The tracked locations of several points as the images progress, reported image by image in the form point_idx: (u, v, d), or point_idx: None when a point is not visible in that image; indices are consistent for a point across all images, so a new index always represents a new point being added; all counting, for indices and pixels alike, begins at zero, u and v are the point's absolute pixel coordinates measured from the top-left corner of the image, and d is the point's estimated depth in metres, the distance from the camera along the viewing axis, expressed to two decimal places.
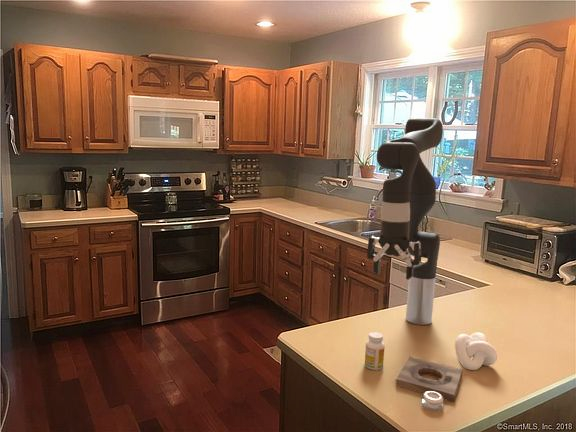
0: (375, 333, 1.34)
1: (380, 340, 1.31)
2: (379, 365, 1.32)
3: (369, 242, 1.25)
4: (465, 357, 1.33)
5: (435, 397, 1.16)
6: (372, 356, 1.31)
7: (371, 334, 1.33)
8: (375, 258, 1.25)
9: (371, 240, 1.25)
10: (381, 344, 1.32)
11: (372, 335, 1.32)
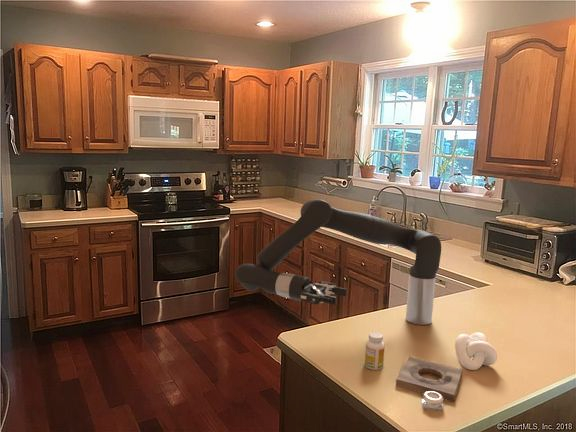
0: (375, 333, 1.34)
1: (380, 340, 1.31)
2: (379, 365, 1.32)
3: None
4: (465, 357, 1.33)
5: (435, 397, 1.16)
6: (372, 356, 1.31)
7: (371, 334, 1.33)
8: None
9: None
10: (381, 344, 1.32)
11: (372, 335, 1.32)
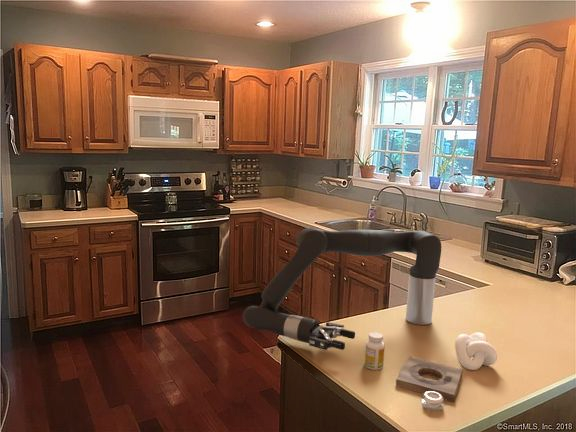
0: (375, 333, 1.34)
1: (380, 340, 1.31)
2: (379, 365, 1.32)
3: None
4: (465, 357, 1.33)
5: (435, 397, 1.16)
6: (372, 356, 1.31)
7: (371, 334, 1.33)
8: None
9: None
10: (381, 344, 1.32)
11: (372, 335, 1.32)
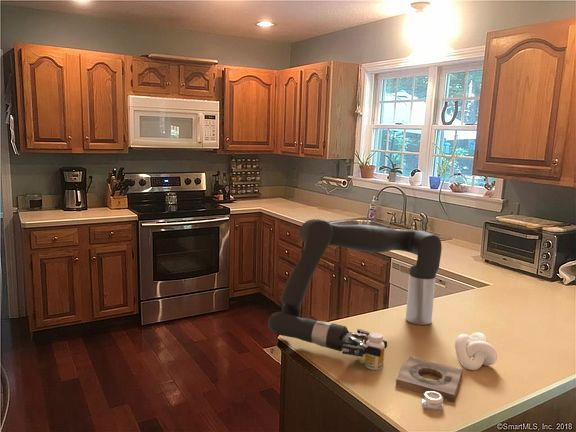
0: (375, 333, 1.34)
1: (380, 340, 1.31)
2: (379, 365, 1.32)
3: None
4: (465, 357, 1.33)
5: (435, 397, 1.16)
6: (372, 356, 1.31)
7: (371, 334, 1.33)
8: None
9: None
10: (381, 344, 1.32)
11: (372, 335, 1.32)
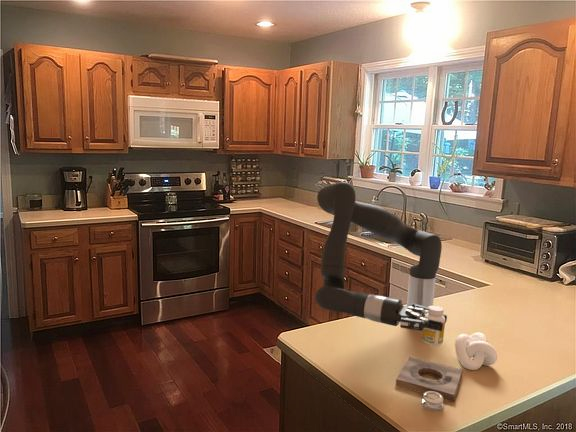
0: (434, 306, 1.24)
1: (441, 313, 1.22)
2: (439, 340, 1.22)
3: None
4: (465, 357, 1.33)
5: (435, 397, 1.16)
6: (432, 330, 1.22)
7: (431, 307, 1.24)
8: None
9: None
10: (442, 318, 1.22)
11: (432, 308, 1.23)
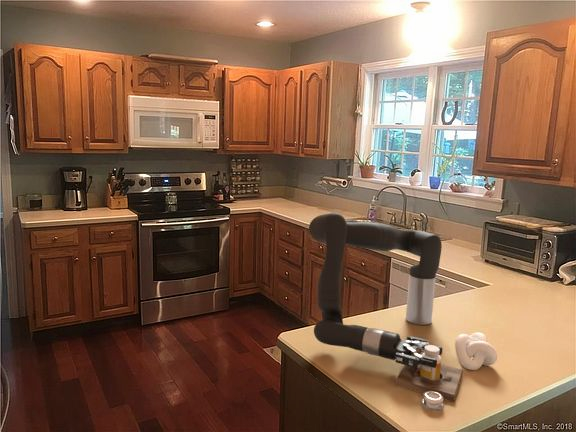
0: (431, 346, 1.26)
1: (437, 354, 1.24)
2: None
3: None
4: (465, 357, 1.33)
5: (435, 397, 1.16)
6: (429, 370, 1.24)
7: (427, 347, 1.26)
8: None
9: None
10: (438, 358, 1.24)
11: (428, 348, 1.25)
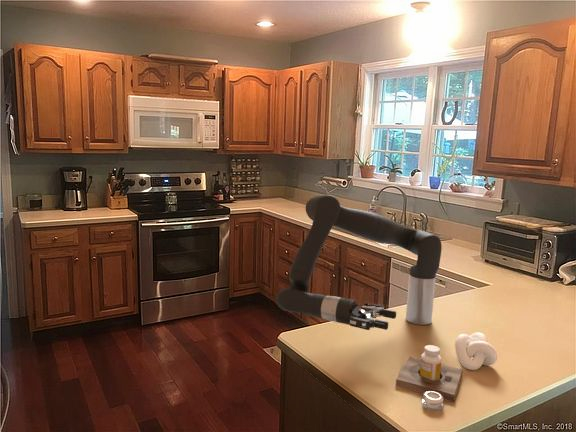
0: (431, 346, 1.26)
1: (437, 354, 1.24)
2: None
3: None
4: (465, 357, 1.33)
5: (435, 397, 1.16)
6: (429, 370, 1.24)
7: (427, 347, 1.26)
8: None
9: None
10: (438, 358, 1.24)
11: (428, 348, 1.25)
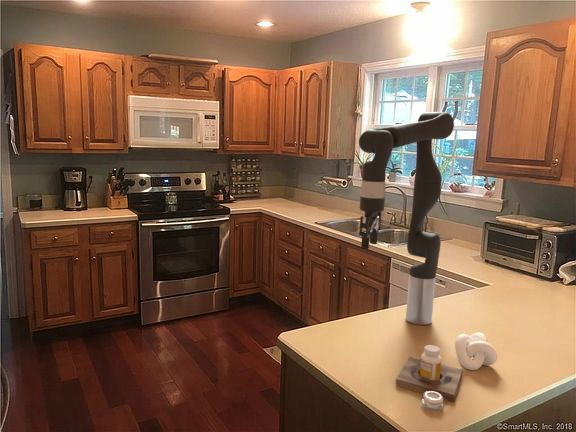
0: (431, 346, 1.26)
1: (437, 354, 1.24)
2: None
3: None
4: (465, 357, 1.33)
5: (435, 397, 1.16)
6: (429, 370, 1.24)
7: (427, 347, 1.26)
8: None
9: None
10: (438, 358, 1.24)
11: (428, 348, 1.25)
